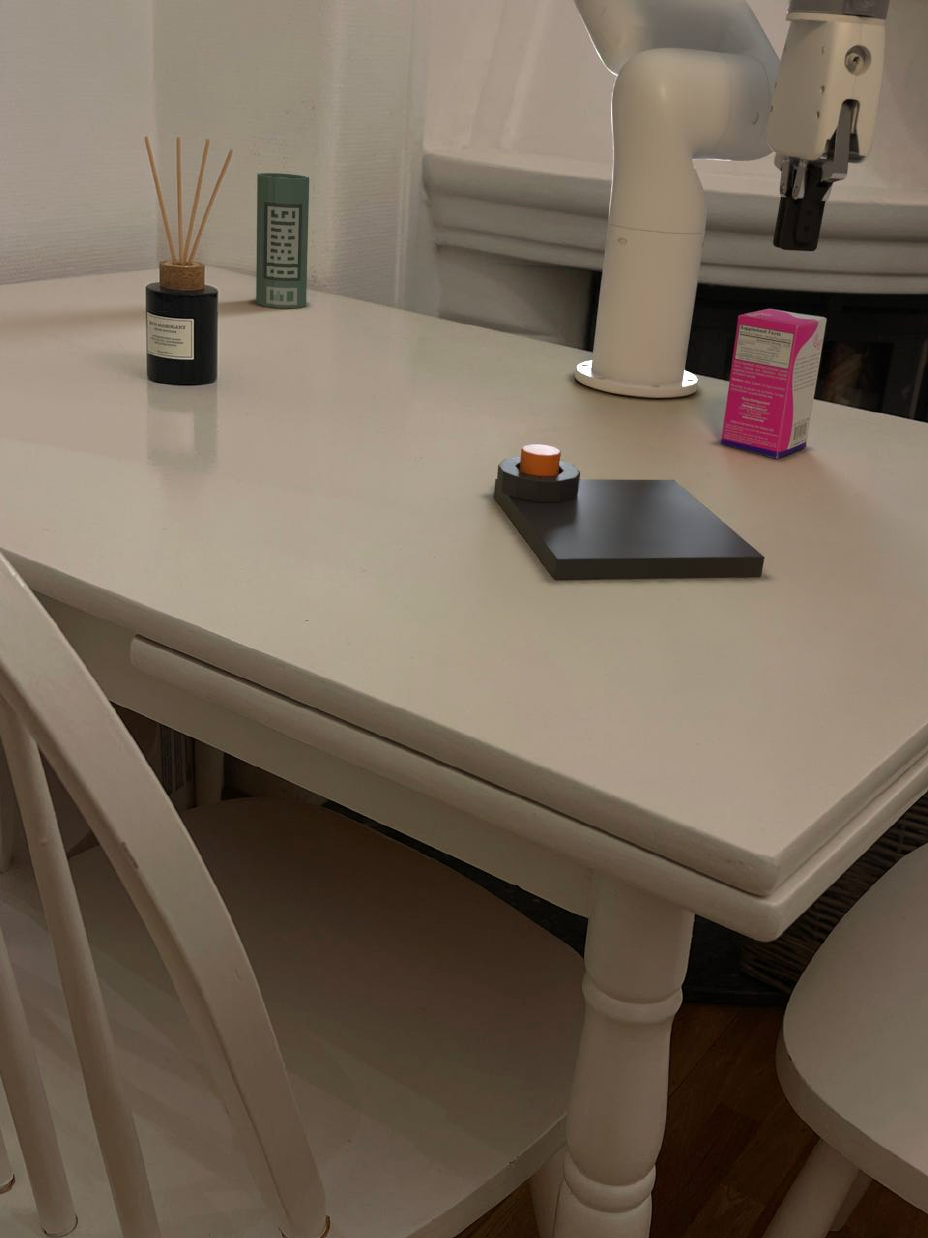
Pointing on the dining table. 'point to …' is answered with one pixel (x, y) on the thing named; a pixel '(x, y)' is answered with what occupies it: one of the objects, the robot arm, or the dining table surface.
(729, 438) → the supplement box
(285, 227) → the can
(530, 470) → the tare button
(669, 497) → the scale
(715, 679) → the dining table surface
